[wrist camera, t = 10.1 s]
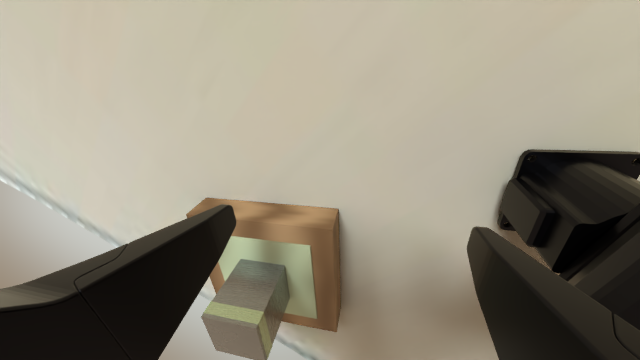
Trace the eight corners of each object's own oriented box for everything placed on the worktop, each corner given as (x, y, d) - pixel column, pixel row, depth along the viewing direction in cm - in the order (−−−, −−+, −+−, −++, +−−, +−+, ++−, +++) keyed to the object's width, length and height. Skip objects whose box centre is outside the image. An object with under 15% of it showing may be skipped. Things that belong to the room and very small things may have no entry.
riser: (338, 208, 22) (332, 231, 20) (340, 306, 29) (336, 333, 26) (206, 197, 25) (184, 215, 23) (235, 288, 32) (221, 310, 29)
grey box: (285, 265, 23) (256, 328, 18) (290, 297, 25) (266, 362, 20) (240, 258, 24) (200, 316, 19) (249, 290, 26) (215, 350, 21)
